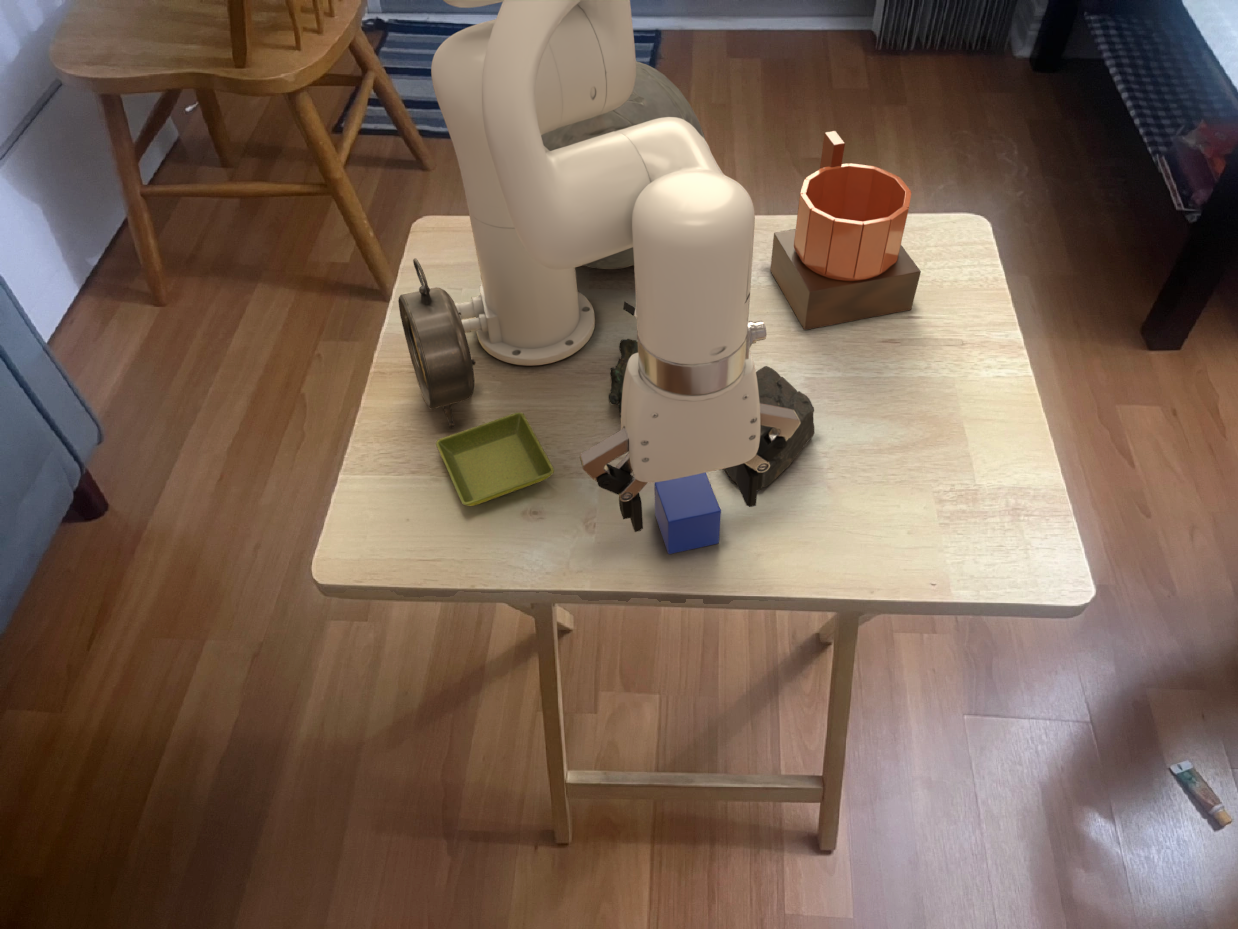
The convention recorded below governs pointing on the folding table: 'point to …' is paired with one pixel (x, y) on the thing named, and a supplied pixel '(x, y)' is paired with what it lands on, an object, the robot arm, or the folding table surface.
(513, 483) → the green rectangular tray
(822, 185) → the orange stave bucket
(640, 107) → the grey scuffed sphere
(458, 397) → the alarm clock
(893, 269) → the stand
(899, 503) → the folding table surface
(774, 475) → the rock
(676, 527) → the cube
